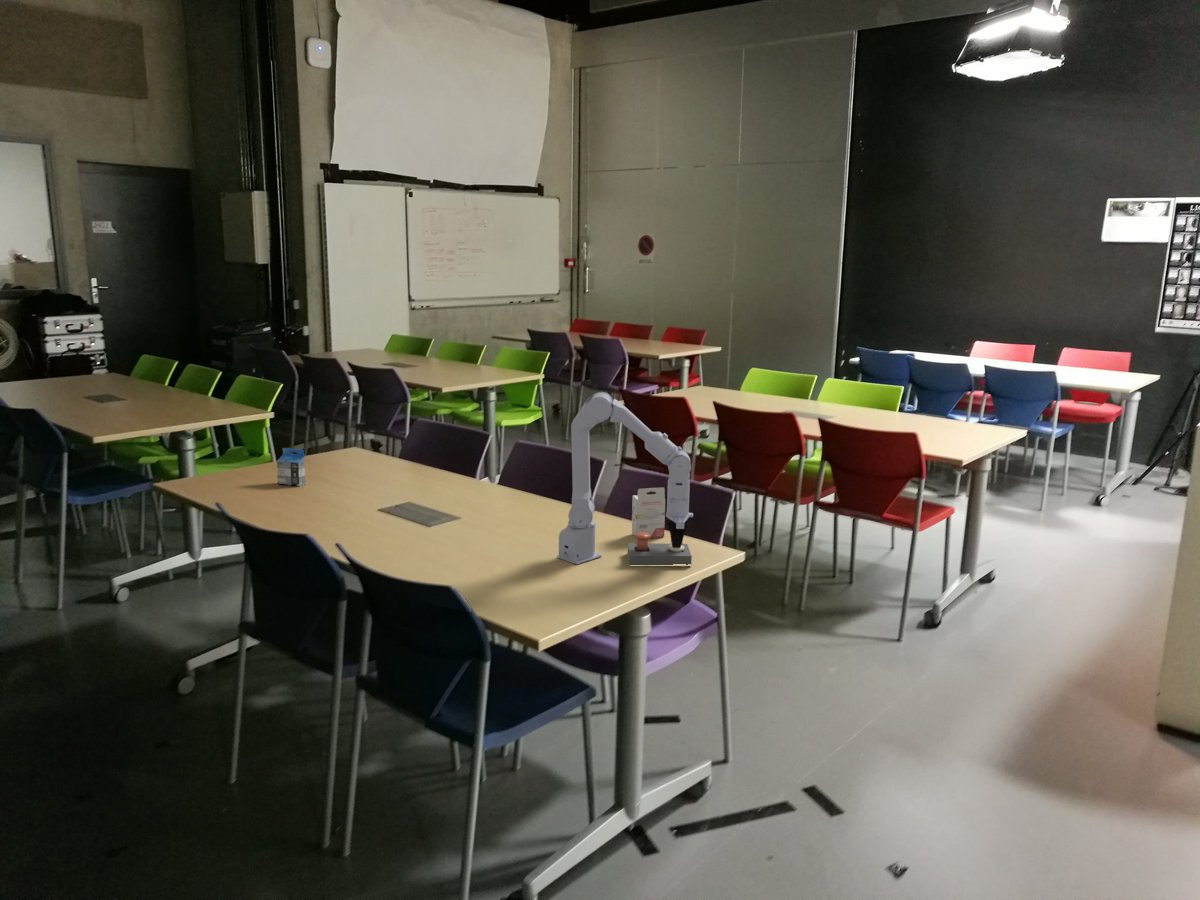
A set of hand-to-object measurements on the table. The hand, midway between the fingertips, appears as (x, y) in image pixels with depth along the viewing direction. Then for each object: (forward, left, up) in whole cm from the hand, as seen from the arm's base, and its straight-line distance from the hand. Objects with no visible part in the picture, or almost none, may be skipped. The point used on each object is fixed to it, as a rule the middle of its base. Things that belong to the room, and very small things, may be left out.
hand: (676, 547), depth 231 cm
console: (-3, +3, -4) cm, 6 cm away
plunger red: (-6, +6, -1) cm, 9 cm away
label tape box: (-36, +140, -4) cm, 145 cm away
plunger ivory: (0, 0, -4) cm, 4 cm away
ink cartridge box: (+11, +19, -4) cm, 22 cm away
